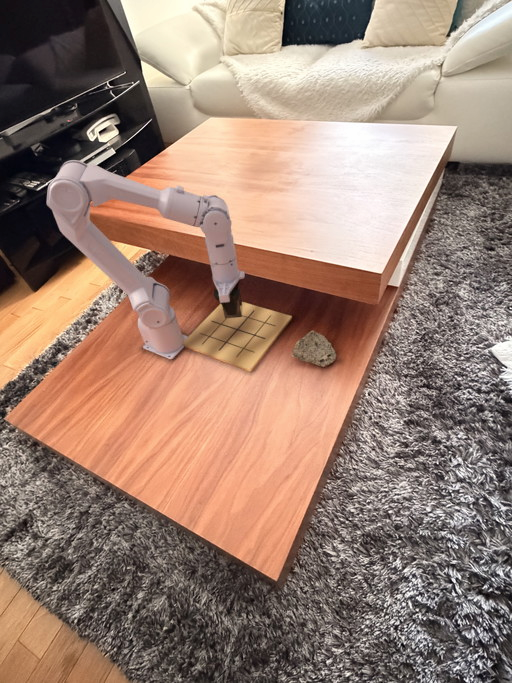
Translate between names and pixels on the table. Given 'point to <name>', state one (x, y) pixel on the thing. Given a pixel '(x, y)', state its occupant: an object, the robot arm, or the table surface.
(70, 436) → the table surface
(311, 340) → the rock sample
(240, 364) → the game board
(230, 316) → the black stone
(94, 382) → the table surface
